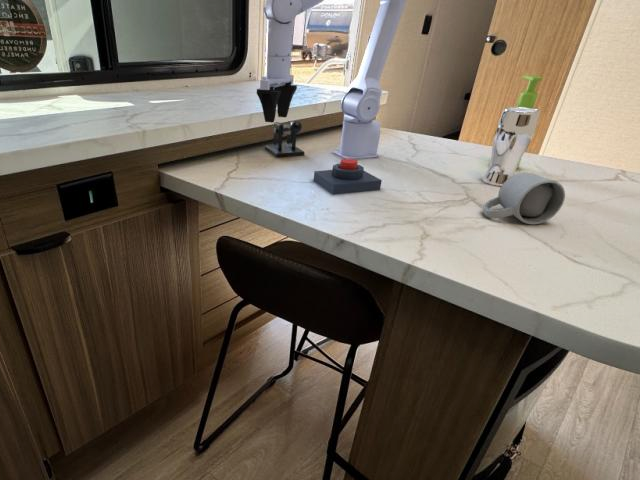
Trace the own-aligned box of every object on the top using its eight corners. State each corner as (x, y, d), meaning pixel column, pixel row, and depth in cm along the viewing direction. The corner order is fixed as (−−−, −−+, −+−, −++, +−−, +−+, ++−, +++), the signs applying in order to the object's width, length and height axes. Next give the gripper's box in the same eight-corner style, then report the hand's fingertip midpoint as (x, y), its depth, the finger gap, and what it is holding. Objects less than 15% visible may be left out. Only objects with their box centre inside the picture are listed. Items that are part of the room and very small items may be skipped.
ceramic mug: (527, 207, 79) (543, 167, 75) (555, 224, 72) (574, 181, 68) (472, 209, 79) (484, 168, 75) (494, 226, 72) (509, 182, 68)
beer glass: (521, 186, 90) (549, 112, 82) (489, 186, 90) (513, 112, 82) (505, 177, 96) (529, 106, 88) (474, 177, 96) (496, 106, 88)
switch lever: (304, 132, 104) (303, 120, 103) (293, 133, 104) (292, 120, 103) (288, 136, 114) (288, 124, 113) (278, 136, 114) (277, 124, 113)
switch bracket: (304, 156, 112) (306, 125, 108) (276, 158, 111) (277, 127, 106) (290, 147, 120) (292, 119, 116) (264, 149, 119) (265, 120, 114)
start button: (351, 166, 91) (352, 157, 90) (359, 170, 88) (360, 162, 87) (336, 167, 90) (337, 159, 89) (344, 171, 87) (345, 163, 86)
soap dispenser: (509, 163, 106) (540, 74, 95) (521, 170, 100) (556, 77, 89) (485, 162, 107) (513, 74, 96) (496, 170, 101) (527, 77, 90)
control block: (357, 177, 96) (359, 159, 94) (380, 190, 88) (383, 171, 86) (313, 180, 94) (315, 163, 92) (333, 195, 86) (335, 175, 84)
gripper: (276, 54, 102) (273, 113, 109) (248, 57, 91) (248, 122, 99) (302, 54, 99) (298, 115, 106) (277, 57, 88) (274, 125, 96)
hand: (276, 119), depth 102 cm, fingers open, 7 cm apart
